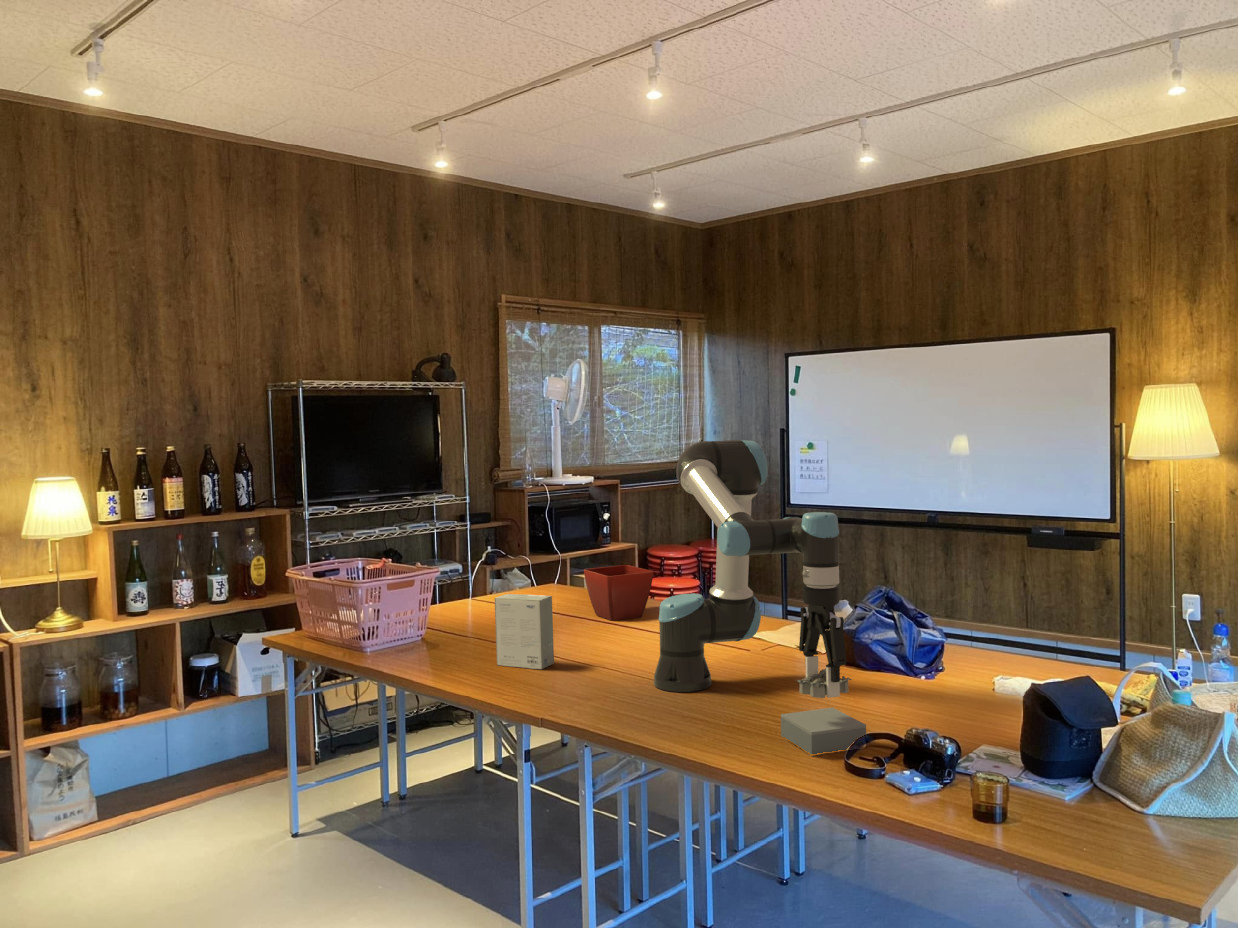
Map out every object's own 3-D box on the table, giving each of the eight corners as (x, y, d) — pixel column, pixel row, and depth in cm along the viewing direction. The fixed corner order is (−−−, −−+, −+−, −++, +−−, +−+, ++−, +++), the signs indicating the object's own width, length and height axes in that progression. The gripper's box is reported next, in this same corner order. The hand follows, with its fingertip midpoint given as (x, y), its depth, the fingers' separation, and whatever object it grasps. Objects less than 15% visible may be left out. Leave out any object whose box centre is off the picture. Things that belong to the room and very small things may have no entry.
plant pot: (655, 617, 334) (654, 570, 333) (609, 624, 324) (608, 576, 324) (628, 609, 351) (627, 564, 350) (583, 615, 341) (582, 569, 340)
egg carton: (831, 684, 206) (831, 666, 206) (855, 692, 199) (855, 673, 199) (793, 691, 201) (793, 672, 201) (816, 700, 194) (816, 680, 194)
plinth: (781, 736, 204) (780, 714, 204) (833, 729, 209) (832, 707, 208) (811, 756, 192) (811, 732, 192) (866, 748, 196) (866, 724, 196)
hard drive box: (555, 663, 272) (553, 595, 271) (542, 670, 265) (540, 600, 264) (509, 659, 278) (507, 592, 277) (495, 665, 271) (493, 597, 270)
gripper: (781, 579, 208) (783, 681, 208) (831, 594, 188) (833, 706, 189) (811, 577, 210) (813, 677, 211) (863, 591, 190) (865, 702, 191)
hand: (822, 691), depth 200 cm, fingers closed on egg carton, 8 cm apart
